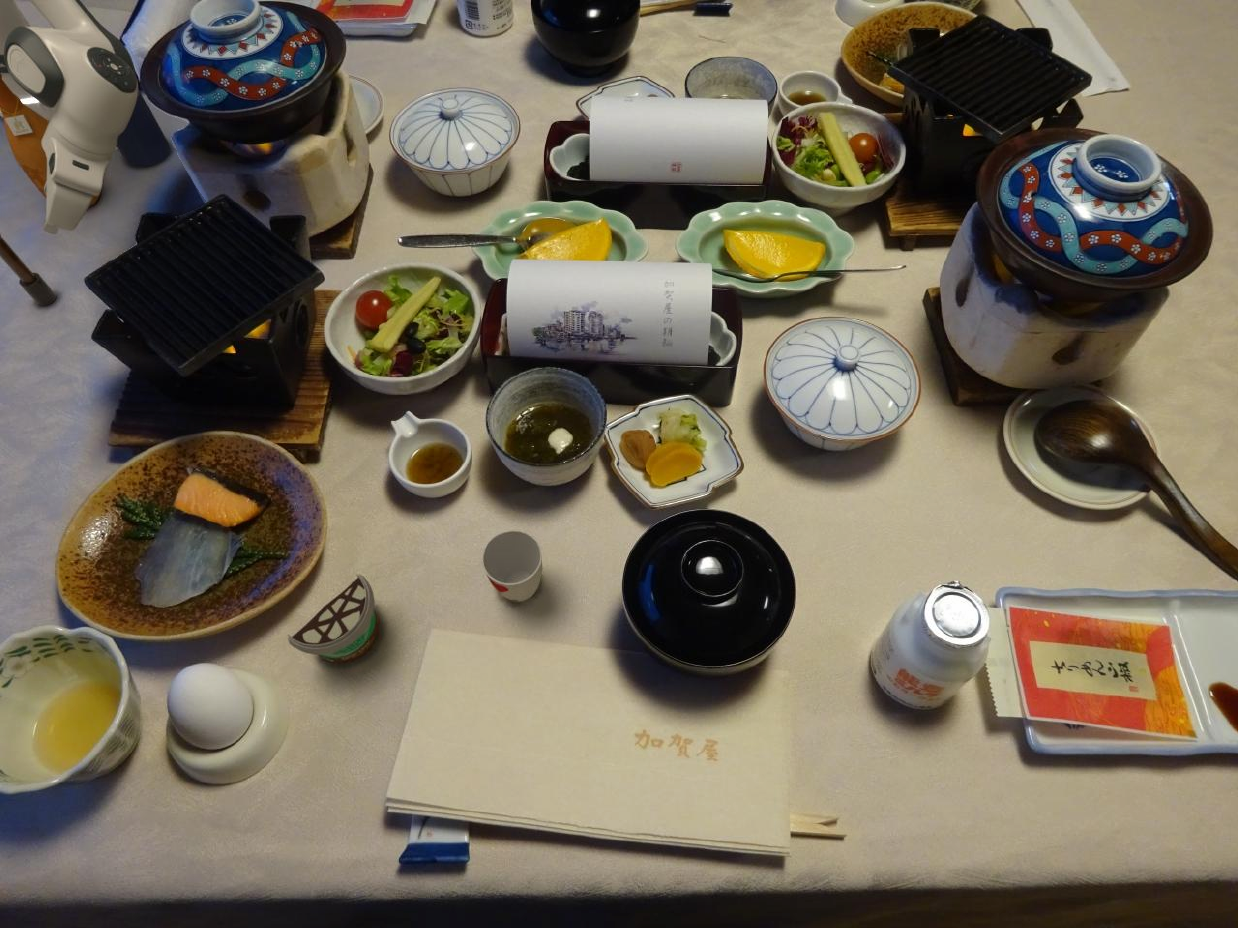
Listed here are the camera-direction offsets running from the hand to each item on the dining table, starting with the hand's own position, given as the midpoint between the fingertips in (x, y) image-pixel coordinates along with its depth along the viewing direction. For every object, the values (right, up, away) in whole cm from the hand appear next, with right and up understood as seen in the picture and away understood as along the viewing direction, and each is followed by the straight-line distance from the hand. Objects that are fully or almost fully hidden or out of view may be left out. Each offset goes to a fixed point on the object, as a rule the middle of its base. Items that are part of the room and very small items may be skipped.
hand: (49, 211), depth 131 cm
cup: (+80, -60, -16) cm, 102 cm away
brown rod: (-10, -12, +13) cm, 20 cm away
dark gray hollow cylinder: (-4, +23, +34) cm, 42 cm away
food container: (+59, -67, -21) cm, 92 cm away
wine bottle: (-14, +11, +27) cm, 32 cm away
